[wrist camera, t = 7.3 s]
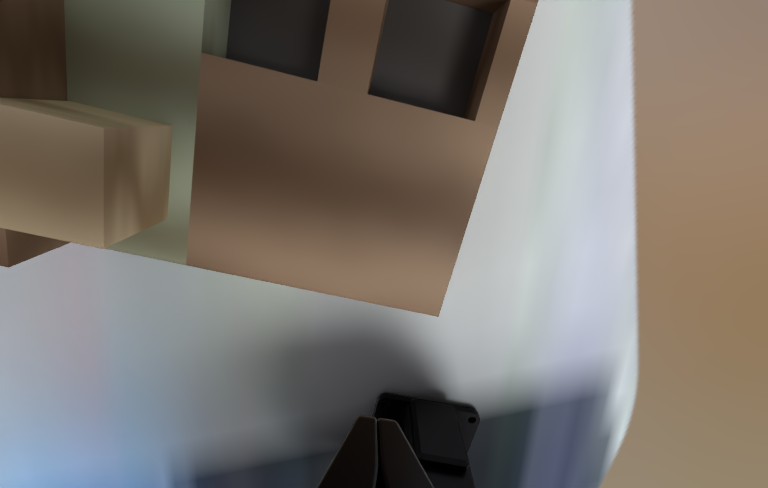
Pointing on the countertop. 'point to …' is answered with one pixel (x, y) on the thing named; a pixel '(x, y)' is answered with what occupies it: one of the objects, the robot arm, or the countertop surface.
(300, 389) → the countertop surface
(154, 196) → the maple block
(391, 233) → the trap box
